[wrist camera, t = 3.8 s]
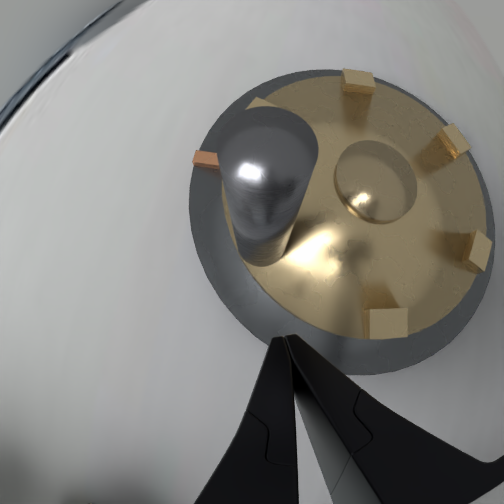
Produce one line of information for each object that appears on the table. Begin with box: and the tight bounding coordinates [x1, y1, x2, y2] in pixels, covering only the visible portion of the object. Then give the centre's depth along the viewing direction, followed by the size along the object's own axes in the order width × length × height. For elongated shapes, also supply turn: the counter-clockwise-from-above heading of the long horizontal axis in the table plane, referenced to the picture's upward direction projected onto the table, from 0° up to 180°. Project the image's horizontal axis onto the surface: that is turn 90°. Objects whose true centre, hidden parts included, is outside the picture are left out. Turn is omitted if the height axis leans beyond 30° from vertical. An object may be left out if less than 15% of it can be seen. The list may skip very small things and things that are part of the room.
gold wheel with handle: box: [216, 69, 492, 340], centre depth 16 cm, size 21×21×12 cm
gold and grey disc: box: [189, 70, 495, 375], centre depth 22 cm, size 26×26×2 cm
